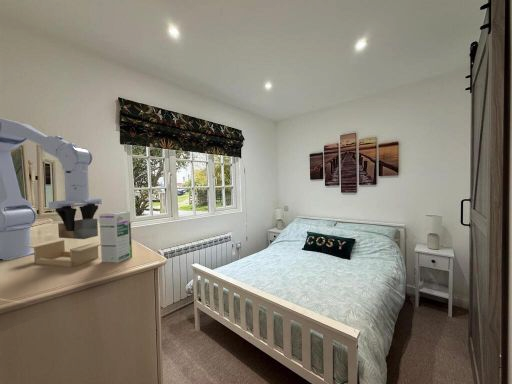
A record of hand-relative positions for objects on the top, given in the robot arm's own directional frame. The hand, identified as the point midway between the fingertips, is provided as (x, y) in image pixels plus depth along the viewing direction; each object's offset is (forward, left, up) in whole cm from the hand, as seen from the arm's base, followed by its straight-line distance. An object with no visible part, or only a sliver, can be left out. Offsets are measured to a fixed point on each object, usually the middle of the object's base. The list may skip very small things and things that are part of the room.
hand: (78, 229), depth 69 cm
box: (0, 0, -2) cm, 2 cm away
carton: (0, -4, -9) cm, 10 cm away
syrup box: (+14, 0, -9) cm, 16 cm away
